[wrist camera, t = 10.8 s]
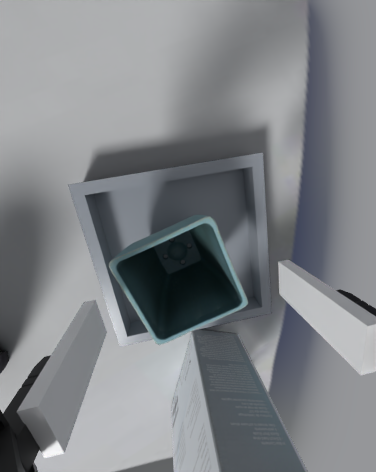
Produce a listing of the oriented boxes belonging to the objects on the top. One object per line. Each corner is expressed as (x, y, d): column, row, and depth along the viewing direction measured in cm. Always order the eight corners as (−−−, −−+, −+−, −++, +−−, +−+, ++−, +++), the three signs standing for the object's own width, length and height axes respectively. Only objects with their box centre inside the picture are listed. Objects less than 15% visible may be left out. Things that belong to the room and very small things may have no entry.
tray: (82, 184, 22) (67, 184, 19) (248, 156, 24) (262, 152, 20) (125, 326, 28) (119, 346, 24) (259, 298, 29) (271, 313, 26)
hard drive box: (214, 408, 34) (280, 701, 15) (170, 407, 33) (179, 724, 14) (240, 331, 30) (369, 587, 11) (191, 326, 29) (243, 603, 10)
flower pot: (126, 233, 23) (104, 263, 15) (195, 201, 23) (213, 213, 15) (159, 292, 26) (157, 348, 17) (221, 264, 26) (250, 305, 17)
